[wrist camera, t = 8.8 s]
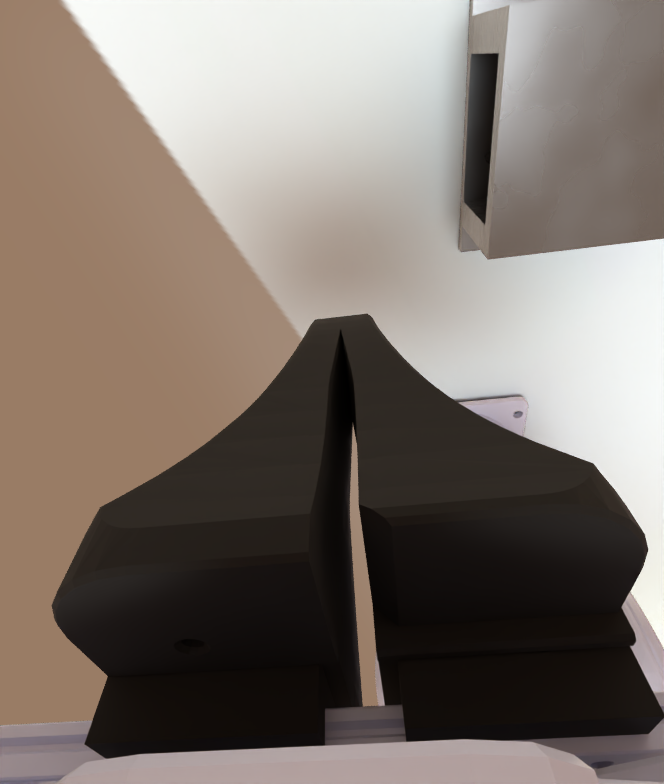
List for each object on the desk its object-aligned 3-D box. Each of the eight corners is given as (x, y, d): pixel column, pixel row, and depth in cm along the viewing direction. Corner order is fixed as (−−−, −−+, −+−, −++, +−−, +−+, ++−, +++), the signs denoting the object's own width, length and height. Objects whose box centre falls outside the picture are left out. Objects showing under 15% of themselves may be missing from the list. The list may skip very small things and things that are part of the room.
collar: (663, 224, 19) (735, 259, 16) (459, 249, 20) (485, 288, 16) (757, -76, 14) (896, -119, 10) (471, -29, 14) (514, -54, 11)
